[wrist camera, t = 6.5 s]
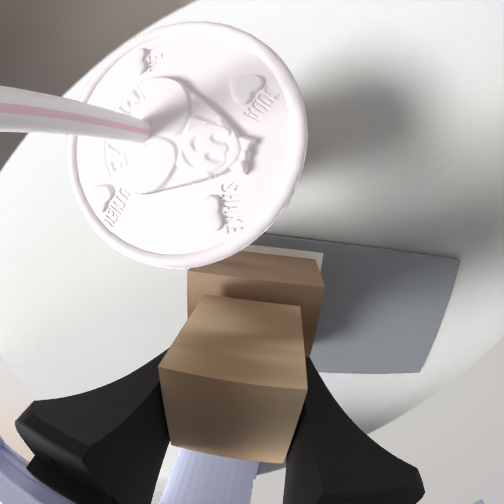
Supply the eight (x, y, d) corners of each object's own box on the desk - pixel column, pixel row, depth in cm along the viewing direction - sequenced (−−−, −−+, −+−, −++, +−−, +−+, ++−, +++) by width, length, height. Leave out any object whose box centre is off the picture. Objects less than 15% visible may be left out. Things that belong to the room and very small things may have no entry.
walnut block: (299, 347, 17) (301, 389, 13) (207, 335, 18) (189, 374, 14) (315, 259, 16) (325, 287, 12) (209, 247, 16) (187, 270, 12)
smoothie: (197, 94, 14) (1, -35, 1) (307, 119, 14) (402, -89, 1) (169, 197, 16) (-65, 281, 3) (275, 228, 16) (233, 471, 2)
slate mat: (417, 369, 17) (419, 372, 17) (203, 354, 19) (201, 358, 18) (456, 258, 15) (460, 260, 14) (206, 227, 16) (203, 229, 16)
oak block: (299, 305, 11) (307, 389, 7) (285, 378, 12) (283, 463, 8) (204, 293, 12) (157, 366, 7) (203, 367, 13) (171, 445, 8)
